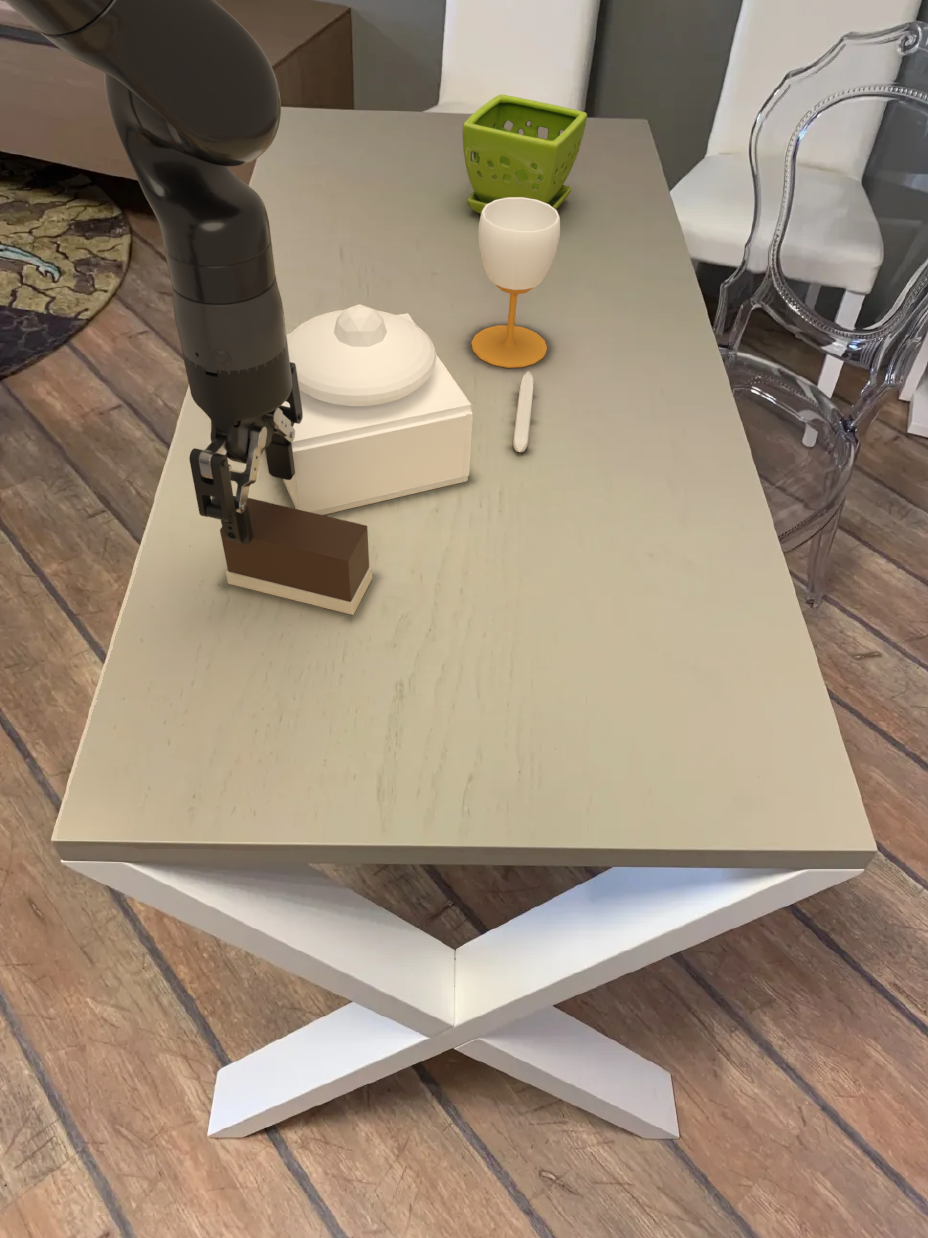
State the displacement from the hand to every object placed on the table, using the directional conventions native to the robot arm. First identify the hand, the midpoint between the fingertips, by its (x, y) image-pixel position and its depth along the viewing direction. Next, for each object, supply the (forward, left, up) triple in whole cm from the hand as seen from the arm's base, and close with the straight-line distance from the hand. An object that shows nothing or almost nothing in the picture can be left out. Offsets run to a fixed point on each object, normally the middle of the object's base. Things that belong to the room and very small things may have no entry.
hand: (261, 507), depth 80 cm
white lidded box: (+1, +20, -8) cm, 21 cm away
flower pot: (+3, +80, -8) cm, 80 cm away
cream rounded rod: (+16, +31, -8) cm, 36 cm away
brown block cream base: (+3, 0, -8) cm, 8 cm away
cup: (+11, +44, -8) cm, 46 cm away
